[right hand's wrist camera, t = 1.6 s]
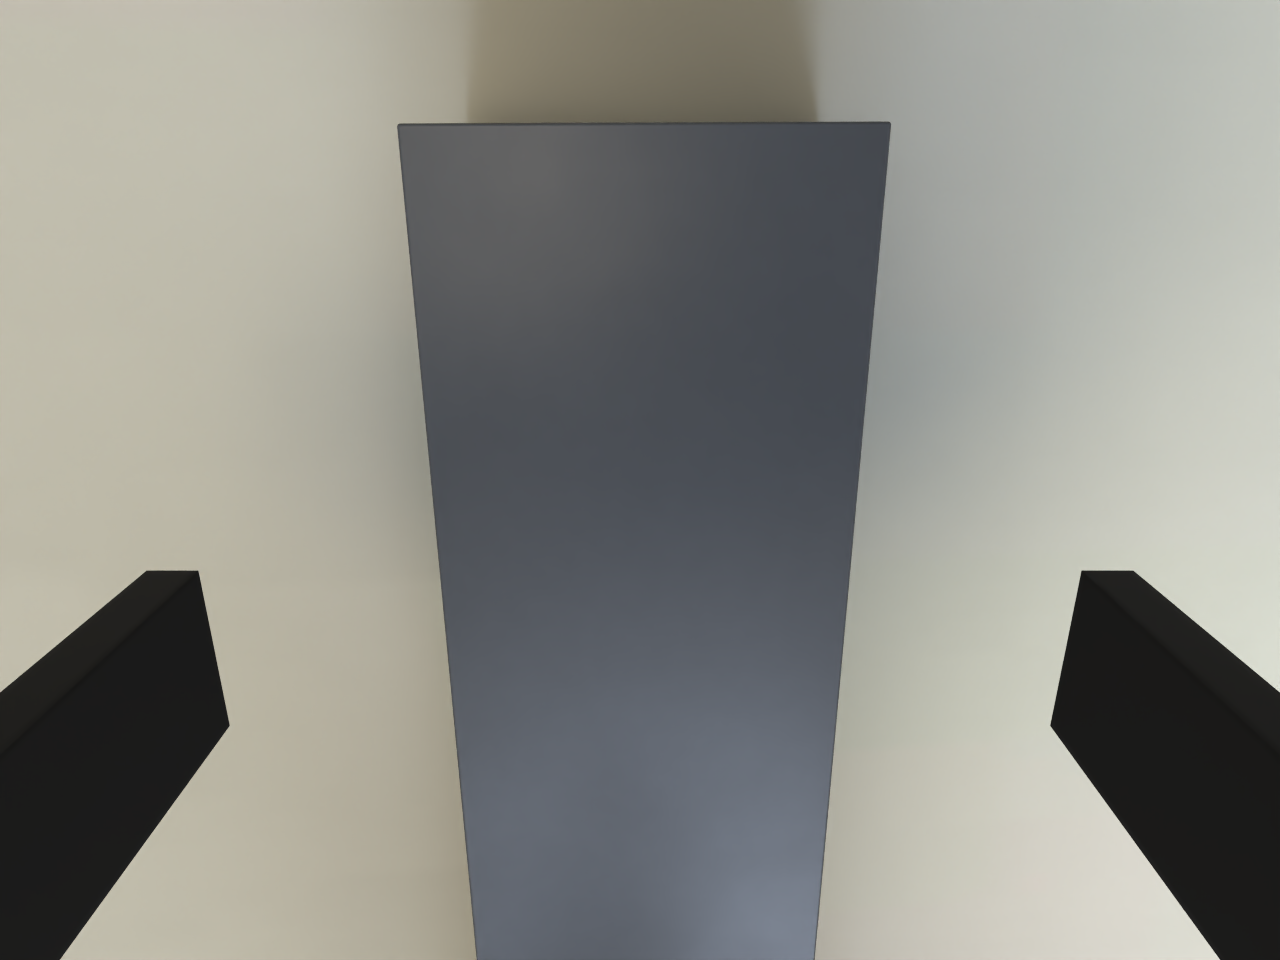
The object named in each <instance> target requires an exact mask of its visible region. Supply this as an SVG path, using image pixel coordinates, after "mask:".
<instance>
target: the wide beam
mask: <svg viewBox="0 0 1280 960" xmlns="http://www.w3.org/2000/svg"><path fill="white" fill-rule="evenodd" d="M397 129H398V139H399V150H400V160H401V170H402V181H403V191H404V202H405V212H406V223H407V233H408V244H409V254H410V265H411V275H412V286H413V296H414V307H415V317H416V328H417V338H418V349H419V359H420V369H421V380H422V390H423V401H424V411H425V422H426V432H427V443H428V453H429V464H430V474H431V485H432V495H433V506H434V516H435V527H436V537H437V547H438V558H439V568H440V579H441V589H442V600H443V610H444V621H445V631H446V642H447V652H448V663H449V673H450V684H451V694H452V705H453V715H454V725H455V736H456V746H457V757H458V767H459V778H460V788H461V799H462V809H463V820H464V830H465V841H466V851H467V862H468V872H469V883H470V893H471V904H472V914H473V924H474V935H475V945H476V956H477V960H814V959H815V948H816V938H817V927H818V916H819V905H820V894H821V883H822V872H823V861H824V850H825V839H826V828H827V817H828V807H829V796H830V785H831V774H832V763H833V752H834V741H835V730H836V719H837V708H838V697H839V687H840V676H841V665H842V654H843V643H844V632H845V621H846V610H847V599H848V588H849V577H850V567H851V556H852V545H853V534H854V523H855V512H856V501H857V490H858V479H859V468H860V457H861V447H862V436H863V425H864V414H865V403H866V392H867V381H868V370H869V359H870V348H871V337H872V327H873V316H874V305H875V294H876V283H877V272H878V261H879V250H880V239H881V228H882V217H883V206H884V196H885V185H886V174H887V163H888V152H889V141H890V130H891V123H890V122H674V123H425V124H398V126H397Z"/></svg>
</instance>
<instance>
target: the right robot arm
mask: <svg viewBox="0 0 1280 960" xmlns="http://www.w3.org/2000/svg"><path fill="white" fill-rule="evenodd" d="M229 726H230V725H229V720H228V715H227V710H226V705H225V700H224V695H223V690H222V686H221V681H220V676H219V671H218V666H217V661H216V656H215V651H214V646H213V641H212V636H211V631H210V626H209V621H208V616H207V611H206V606H205V601H204V596H203V592H202V587H201V582H200V577H199V572H198V571H146V572H145V573H143V574H142V575H141V576H140V577H139V578H137V579H136V580H135V581H134V582H133V583H131V584H130V585H129V586H128V587H127V588H125V589H124V590H123V591H122V592H121V593H119V594H118V595H117V596H116V597H115V598H113V599H112V600H111V601H110V602H109V603H107V604H106V605H105V606H104V607H103V608H101V609H100V610H99V611H98V612H97V613H95V614H94V615H93V616H92V617H90V618H89V619H88V620H87V621H86V622H84V623H83V624H82V625H81V626H80V627H78V628H77V629H76V630H75V631H74V632H72V633H71V634H70V635H69V636H68V637H66V638H65V639H64V640H63V641H62V642H60V643H59V644H58V645H57V646H56V647H54V648H53V649H52V650H51V651H50V652H48V653H47V654H46V655H45V656H44V657H42V658H41V659H40V660H39V661H38V662H36V663H35V664H34V665H33V666H32V667H30V668H29V669H28V670H27V671H26V672H24V673H23V674H22V675H21V676H20V677H18V678H17V679H16V680H15V681H14V682H12V683H11V684H10V685H9V686H8V687H6V688H5V689H4V690H3V691H2V692H0V960H60V959H61V957H62V956H63V955H64V953H65V952H66V950H67V949H68V948H69V946H70V945H71V944H72V942H73V941H74V939H75V938H76V937H77V935H78V934H79V933H80V931H81V930H82V928H83V927H84V926H85V924H86V923H87V922H88V920H89V919H90V917H91V916H92V915H93V913H94V912H95V910H96V909H97V908H98V906H99V905H100V904H101V902H102V901H103V899H104V898H105V897H106V895H107V894H108V893H109V891H110V890H111V888H112V887H113V886H114V884H115V883H116V882H117V880H118V879H119V877H120V876H121V875H122V873H123V872H124V871H125V869H126V868H127V866H128V865H129V864H130V862H131V861H132V860H133V858H134V857H135V855H136V854H137V853H138V851H139V850H140V848H141V847H142V846H143V844H144V843H145V842H146V840H147V839H148V837H149V836H150V835H151V833H152V832H153V831H154V829H155V828H156V826H157V825H158V824H159V822H160V821H161V820H162V818H163V817H164V815H165V814H166V813H167V811H168V810H169V809H170V807H171V806H172V804H173V803H174V802H175V800H176V799H177V798H178V796H179V795H180V793H181V792H182V791H183V789H184V788H185V787H186V785H187V784H188V782H189V781H190V780H191V778H192V777H193V775H194V774H195V773H196V771H197V770H198V769H199V767H200V766H201V764H202V763H203V762H204V760H205V759H206V758H207V756H208V755H209V753H210V752H211V751H212V749H213V748H214V747H215V745H216V744H217V742H218V741H219V740H220V738H221V737H222V736H223V734H224V733H225V731H226V730H227V729H228V727H229ZM1050 726H1051V727H1052V729H1053V730H1054V731H1055V733H1056V734H1057V736H1058V737H1059V738H1060V740H1061V741H1062V742H1063V744H1064V745H1065V747H1066V748H1067V749H1068V751H1069V752H1070V753H1071V755H1072V756H1073V758H1074V759H1075V760H1076V762H1077V763H1078V764H1079V766H1080V767H1081V769H1082V770H1083V771H1084V773H1085V774H1086V775H1087V777H1088V778H1089V780H1090V781H1091V782H1092V784H1093V785H1094V787H1095V788H1096V789H1097V791H1098V792H1099V793H1100V795H1101V796H1102V798H1103V799H1104V800H1105V802H1106V803H1107V804H1108V806H1109V807H1110V809H1111V810H1112V811H1113V813H1114V814H1115V815H1116V817H1117V818H1118V820H1119V821H1120V822H1121V824H1122V825H1123V826H1124V828H1125V829H1126V831H1127V832H1128V833H1129V835H1130V836H1131V837H1132V839H1133V840H1134V842H1135V843H1136V844H1137V846H1138V847H1139V849H1140V850H1141V851H1142V853H1143V854H1144V855H1145V857H1146V858H1147V860H1148V861H1149V862H1150V864H1151V865H1152V866H1153V868H1154V869H1155V871H1156V872H1157V873H1158V875H1159V876H1160V877H1161V879H1162V880H1163V882H1164V883H1165V884H1166V886H1167V887H1168V888H1169V890H1170V891H1171V893H1172V894H1173V895H1174V897H1175V898H1176V899H1177V901H1178V902H1179V904H1180V905H1181V906H1182V908H1183V909H1184V910H1185V912H1186V913H1187V915H1188V916H1189V917H1190V919H1191V920H1192V922H1193V923H1194V924H1195V926H1196V927H1197V928H1198V930H1199V931H1200V933H1201V934H1202V935H1203V937H1204V938H1205V939H1206V941H1207V942H1208V944H1209V945H1210V946H1211V948H1212V949H1213V950H1214V952H1215V953H1216V955H1217V956H1218V957H1219V959H1220V960H1280V692H1278V691H1277V690H1276V689H1275V688H1274V687H1272V686H1271V685H1270V684H1269V683H1268V682H1266V681H1265V680H1264V679H1263V678H1262V677H1260V676H1259V675H1258V674H1257V673H1256V672H1254V671H1253V670H1252V669H1251V668H1250V667H1248V666H1247V665H1246V664H1245V663H1244V662H1242V661H1241V660H1240V659H1239V658H1238V657H1236V656H1235V655H1234V654H1233V653H1232V652H1230V651H1229V650H1228V649H1227V648H1226V647H1224V646H1223V645H1222V644H1221V643H1220V642H1218V641H1217V640H1216V639H1215V638H1214V637H1212V636H1211V635H1210V634H1209V633H1208V632H1206V631H1205V630H1204V629H1203V628H1202V627H1200V626H1199V625H1198V624H1197V623H1196V622H1194V621H1193V620H1192V619H1191V618H1190V617H1188V616H1187V615H1186V614H1185V613H1183V612H1182V611H1181V610H1180V609H1179V608H1177V607H1176V606H1175V605H1174V604H1173V603H1171V602H1170V601H1169V600H1168V599H1167V598H1165V597H1164V596H1163V595H1162V594H1161V593H1159V592H1158V591H1157V590H1156V589H1155V588H1153V587H1152V586H1151V585H1150V584H1149V583H1147V582H1146V581H1145V580H1144V579H1143V578H1141V577H1140V576H1139V575H1138V574H1137V573H1135V572H1134V571H1082V572H1081V577H1080V582H1079V587H1078V592H1077V596H1076V601H1075V606H1074V611H1073V616H1072V621H1071V626H1070V631H1069V636H1068V641H1067V646H1066V651H1065V656H1064V661H1063V666H1062V671H1061V676H1060V681H1059V686H1058V690H1057V695H1056V700H1055V705H1054V710H1053V715H1052V720H1051V725H1050Z"/></svg>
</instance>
